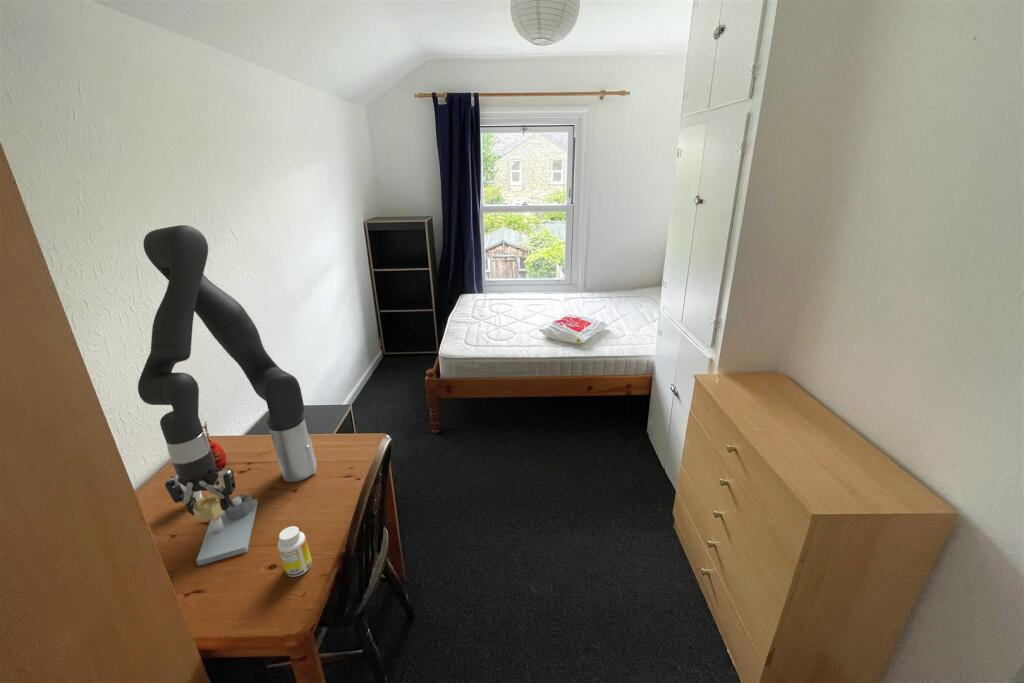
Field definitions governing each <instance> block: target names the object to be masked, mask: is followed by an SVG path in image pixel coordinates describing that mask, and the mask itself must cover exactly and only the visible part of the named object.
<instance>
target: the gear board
mask: <svg viewBox="0 0 1024 683" xmlns="http://www.w3.org/2000/svg"><path fill="white" fill-rule="evenodd" d="M230 500H231V504H230V506H229V508H228V509H227V510H225V512H224V513H222V514H221V515H220V516H218V517H217V518H215V519H212V520H209V524H208V527H207V529H206V533H205V535H204V538H203V541H202V543H201V547H200V549H199V553H198V555H197V558H196V561H195V562H196V564H197V566H204V565H206V564H209V563H213V562H217V561H221V560H224V559H227V558H231V557H233V556H239V555H241V554H245V553H248V549H249V545H250V541H251V535H252V530H253V527H254V522H255V519H256V518H255V517H256V515H257V514H256V513H257V508H258V505H259V502H258V499H257V498H254V499H252V496H251V494H248V493H241V494H237V495H235V496H232V497H231V498H230Z"/></svg>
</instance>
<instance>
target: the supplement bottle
mask: <svg viewBox="0 0 1024 683" xmlns="http://www.w3.org/2000/svg"><path fill="white" fill-rule="evenodd" d="M278 538H279V541H278V543H277V550H278V553H279V556H280V559H281V561H282V565H283V568H284V572H285V574H286V575H287V576H288V577H293V578H294V577H299V576H301V575H303V574H305V573H306V572H308V570H310V568H311V566H312V563H313V559H312V556H311V552H310V548H309V545H308V542H307V539H306V538H307V537H306V535H305V533H304V532H302V531H300V529H299V527H297V526H295V525H292V526H288V527H285V528H284V529H282V530H281V531H280V533H279V535H278Z"/></svg>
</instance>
